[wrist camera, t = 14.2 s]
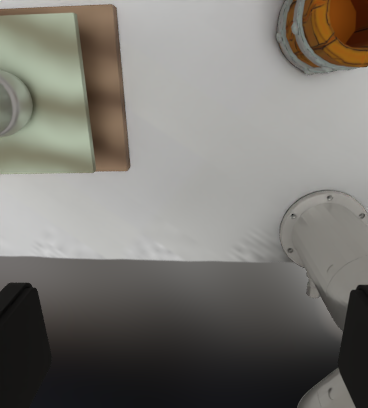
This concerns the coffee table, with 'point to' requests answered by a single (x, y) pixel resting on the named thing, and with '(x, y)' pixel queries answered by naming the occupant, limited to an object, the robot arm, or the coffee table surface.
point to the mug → (324, 34)
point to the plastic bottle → (13, 104)
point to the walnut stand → (66, 90)
